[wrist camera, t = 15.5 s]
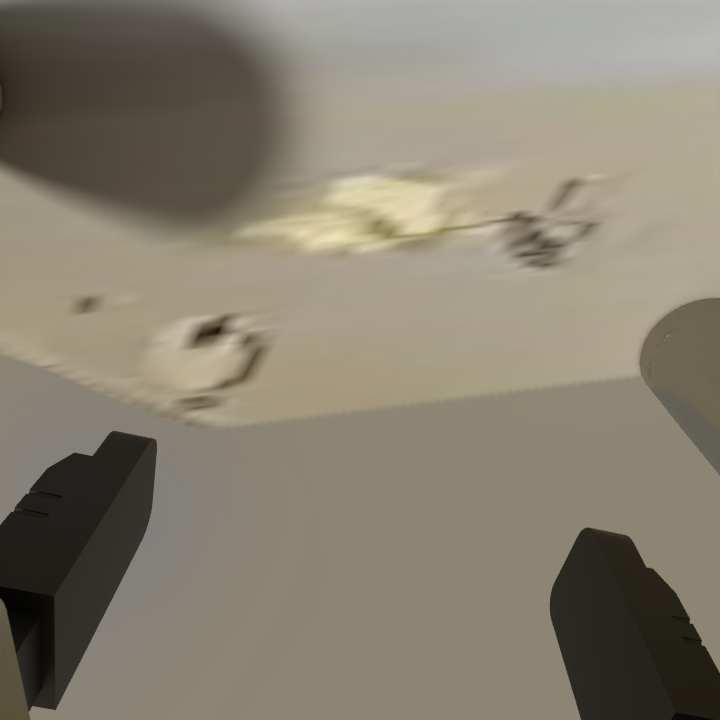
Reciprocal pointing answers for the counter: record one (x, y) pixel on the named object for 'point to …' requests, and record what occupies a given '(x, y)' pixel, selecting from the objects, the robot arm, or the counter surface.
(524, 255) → the counter surface
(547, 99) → the counter surface
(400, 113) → the counter surface
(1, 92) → the plant pot
